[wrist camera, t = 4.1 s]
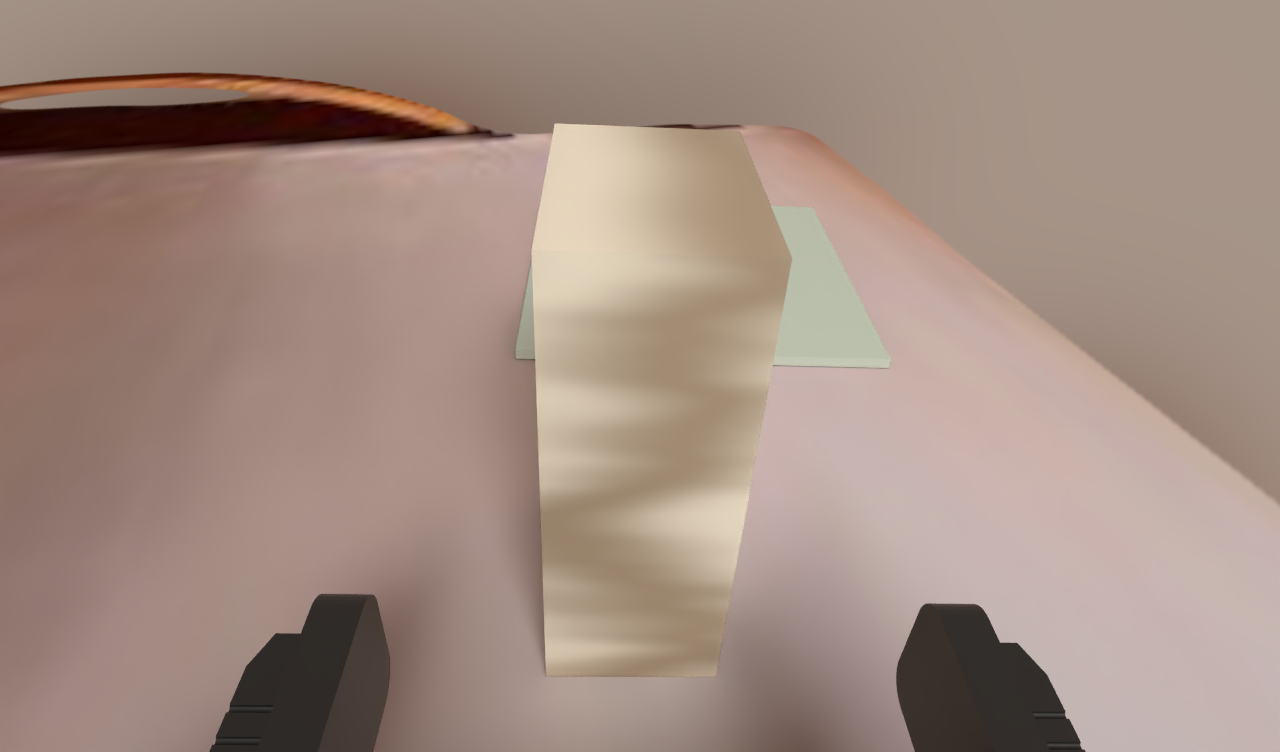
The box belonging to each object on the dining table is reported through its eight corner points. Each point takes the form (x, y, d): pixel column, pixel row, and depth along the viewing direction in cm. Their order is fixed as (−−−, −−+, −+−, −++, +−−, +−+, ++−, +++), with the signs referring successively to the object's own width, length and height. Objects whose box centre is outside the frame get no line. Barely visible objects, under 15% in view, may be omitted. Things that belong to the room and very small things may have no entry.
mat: (515, 358, 29) (515, 349, 28) (543, 205, 40) (542, 197, 40) (888, 368, 29) (891, 359, 29) (811, 214, 41) (812, 207, 40)
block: (545, 676, 18) (531, 249, 12) (559, 494, 23) (555, 123, 17) (716, 676, 18) (792, 257, 12) (693, 497, 23) (740, 131, 17)
